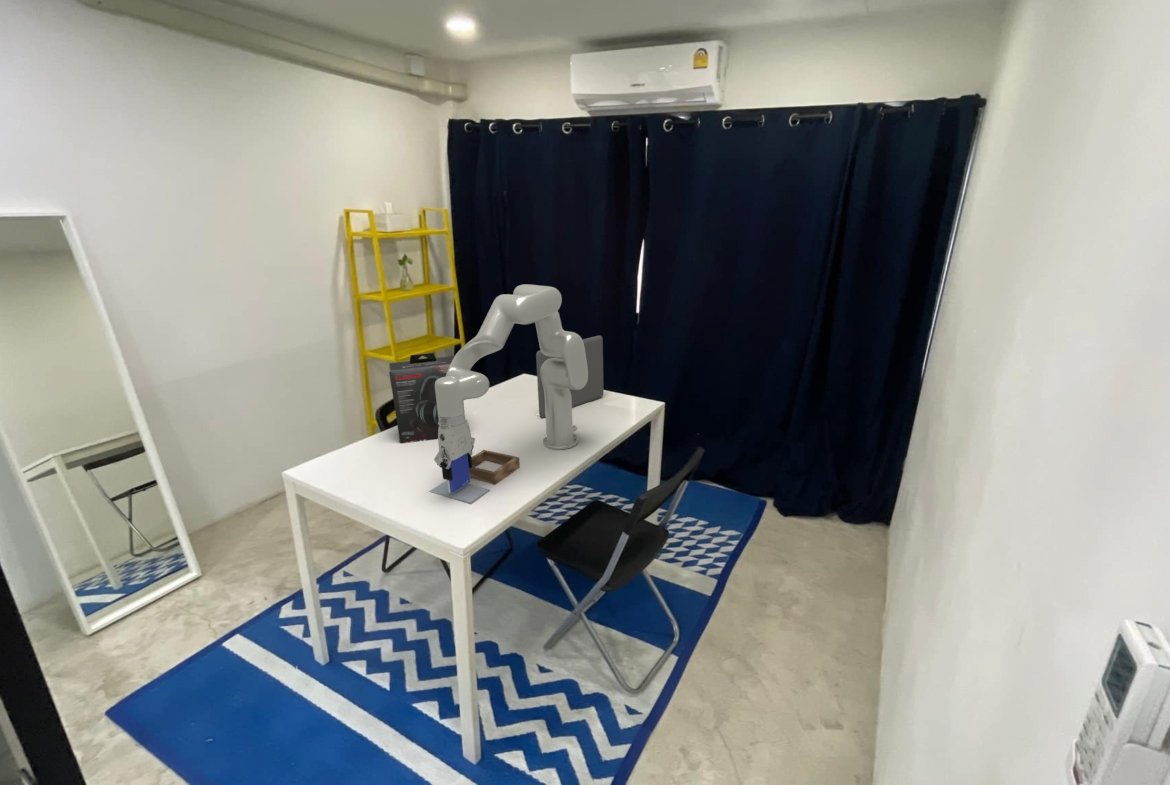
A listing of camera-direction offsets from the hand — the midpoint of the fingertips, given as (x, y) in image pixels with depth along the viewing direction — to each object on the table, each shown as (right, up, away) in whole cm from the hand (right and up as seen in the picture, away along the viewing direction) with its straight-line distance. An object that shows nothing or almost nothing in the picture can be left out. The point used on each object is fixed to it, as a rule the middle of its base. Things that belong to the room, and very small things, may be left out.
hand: (458, 473), depth 167 cm
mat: (0, -6, +2) cm, 6 cm away
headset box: (-20, +7, +44) cm, 49 cm away
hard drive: (0, -5, +1) cm, 5 cm away
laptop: (+23, +19, +80) cm, 85 cm away
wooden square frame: (+7, -2, +14) cm, 16 cm away
